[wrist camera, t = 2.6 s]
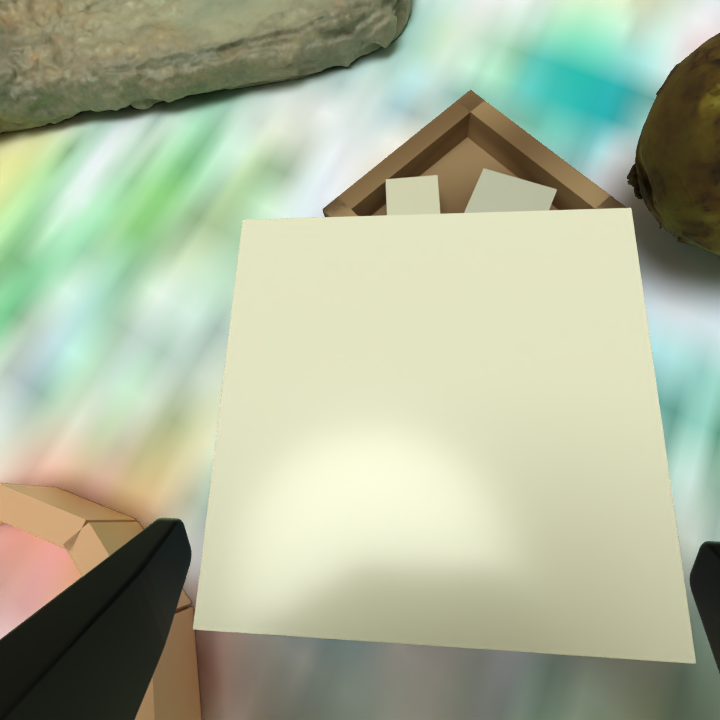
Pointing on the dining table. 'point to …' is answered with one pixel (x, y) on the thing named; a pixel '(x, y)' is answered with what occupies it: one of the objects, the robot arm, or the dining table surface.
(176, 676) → the tan polygonal ring
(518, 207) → the beige angular slab
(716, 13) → the dining table surface
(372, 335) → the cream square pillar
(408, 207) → the cream block
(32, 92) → the long grey stone
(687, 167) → the potato
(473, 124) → the parts tray
